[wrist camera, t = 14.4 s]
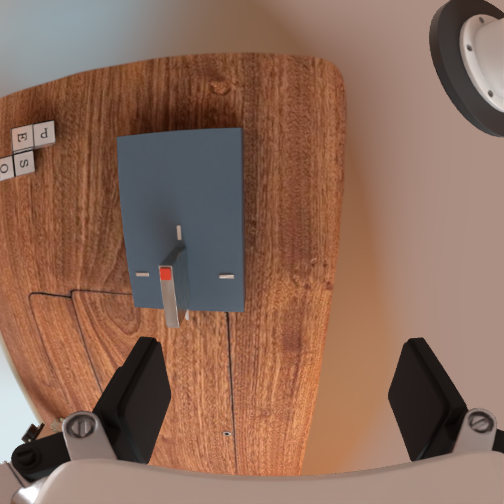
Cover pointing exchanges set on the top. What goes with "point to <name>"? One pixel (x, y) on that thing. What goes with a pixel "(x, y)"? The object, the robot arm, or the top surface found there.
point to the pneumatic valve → (42, 430)
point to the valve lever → (175, 286)
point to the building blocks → (26, 148)
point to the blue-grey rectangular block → (185, 213)
